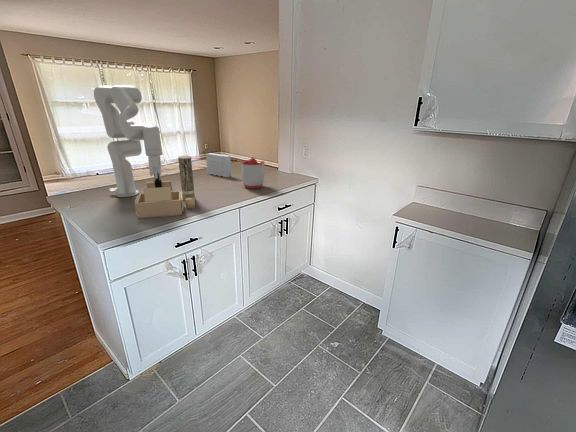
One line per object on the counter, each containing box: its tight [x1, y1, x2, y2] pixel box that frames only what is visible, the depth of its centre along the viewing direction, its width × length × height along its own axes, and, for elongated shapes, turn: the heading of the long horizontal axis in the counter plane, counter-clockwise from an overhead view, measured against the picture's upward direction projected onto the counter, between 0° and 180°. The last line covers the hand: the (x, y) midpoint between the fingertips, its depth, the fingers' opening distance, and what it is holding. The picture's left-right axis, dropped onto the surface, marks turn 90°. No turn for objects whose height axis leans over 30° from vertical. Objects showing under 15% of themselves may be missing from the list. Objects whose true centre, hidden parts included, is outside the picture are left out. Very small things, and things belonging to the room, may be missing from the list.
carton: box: [134, 190, 184, 220], centre depth 152 cm, size 22×16×8 cm
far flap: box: [145, 180, 173, 192], centre depth 155 cm, size 12×1×6 cm, turn 109°
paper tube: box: [177, 155, 196, 201], centre depth 168 cm, size 7×7×25 cm
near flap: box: [143, 187, 172, 202], centre depth 143 cm, size 12×1×6 cm, turn 109°
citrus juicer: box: [240, 157, 265, 190], centre depth 198 cm, size 16×17×20 cm
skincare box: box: [205, 152, 232, 178], centre depth 226 cm, size 21×5×16 cm, turn 58°
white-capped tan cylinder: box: [184, 197, 196, 210], centre depth 159 cm, size 5×5×5 cm
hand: (158, 187), depth 151 cm, fingers closed
